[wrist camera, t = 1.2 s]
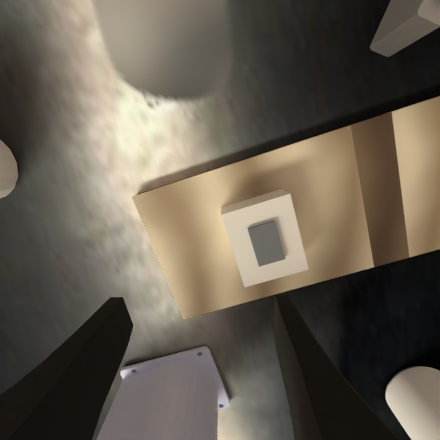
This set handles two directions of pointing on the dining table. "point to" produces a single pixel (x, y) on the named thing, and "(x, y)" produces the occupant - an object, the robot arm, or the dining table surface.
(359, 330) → the dining table surface
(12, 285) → the dining table surface
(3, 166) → the white cup
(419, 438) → the can
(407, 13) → the lighter
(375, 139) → the board
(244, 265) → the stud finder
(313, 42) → the dining table surface
